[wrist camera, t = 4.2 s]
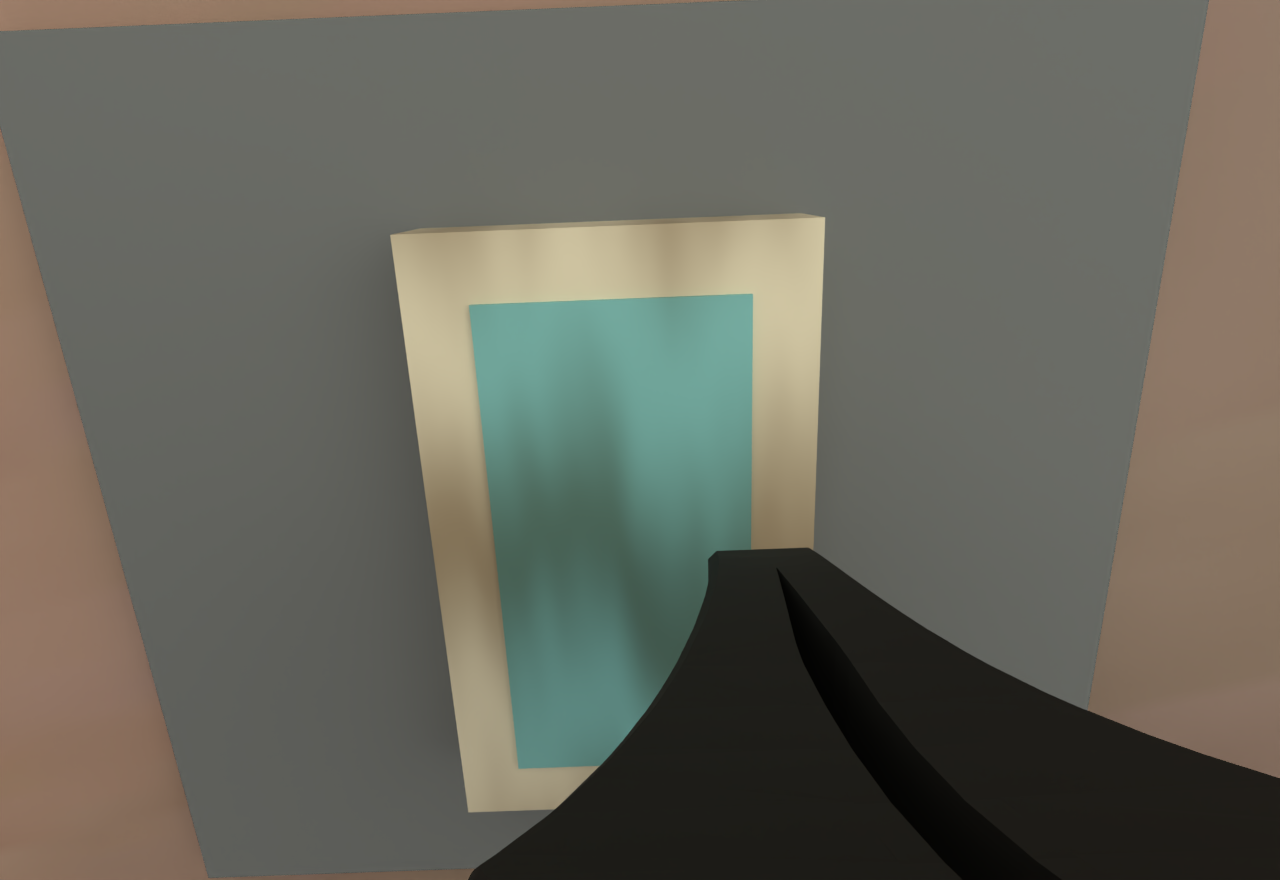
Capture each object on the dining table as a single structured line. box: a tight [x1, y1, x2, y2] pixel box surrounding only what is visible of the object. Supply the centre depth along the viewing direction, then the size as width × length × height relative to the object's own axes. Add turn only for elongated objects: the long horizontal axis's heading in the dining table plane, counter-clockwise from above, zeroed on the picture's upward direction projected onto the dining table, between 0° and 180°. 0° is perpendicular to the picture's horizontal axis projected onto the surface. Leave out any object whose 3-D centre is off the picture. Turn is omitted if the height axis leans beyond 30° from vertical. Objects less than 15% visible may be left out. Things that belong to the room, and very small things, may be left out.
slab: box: [390, 213, 825, 812], centre depth 13 cm, size 10×2×6 cm
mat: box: [0, 0, 1209, 878], centre depth 14 cm, size 16×18×1 cm
